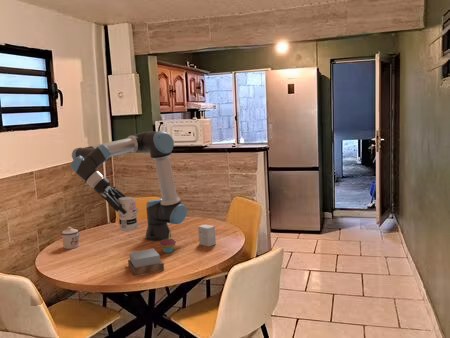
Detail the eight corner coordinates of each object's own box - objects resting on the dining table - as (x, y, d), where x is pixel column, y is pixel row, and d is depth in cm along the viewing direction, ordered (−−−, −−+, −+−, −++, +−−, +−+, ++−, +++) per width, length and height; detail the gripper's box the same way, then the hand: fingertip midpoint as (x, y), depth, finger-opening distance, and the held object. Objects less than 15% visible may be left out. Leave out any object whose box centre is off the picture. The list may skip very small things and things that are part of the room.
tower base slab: (155, 262, 224) (155, 254, 224) (164, 271, 212) (163, 263, 211) (128, 267, 218) (127, 260, 218) (135, 277, 206) (134, 269, 205)
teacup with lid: (72, 249, 249) (70, 229, 247) (59, 248, 252) (57, 228, 250) (86, 243, 260) (84, 223, 258) (73, 242, 263) (71, 223, 261)
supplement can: (121, 227, 214) (118, 196, 212) (138, 225, 214) (136, 195, 212) (118, 231, 206) (115, 200, 204) (136, 230, 206) (133, 199, 204)
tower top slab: (153, 255, 222) (153, 248, 222) (160, 263, 211) (159, 255, 211) (129, 260, 217) (129, 252, 217) (135, 267, 207) (134, 259, 206)
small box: (216, 244, 247) (215, 226, 245) (208, 247, 243) (208, 228, 241) (205, 241, 252) (205, 224, 251) (198, 244, 248) (197, 226, 247)
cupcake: (178, 249, 241) (177, 228, 239) (171, 254, 233) (170, 232, 231) (164, 248, 244) (163, 227, 242) (157, 253, 236) (155, 231, 234)
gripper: (102, 184, 219) (136, 214, 220) (84, 193, 198) (122, 227, 199) (111, 173, 218) (145, 204, 218) (94, 181, 197) (132, 215, 198)
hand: (134, 215), depth 209 cm, fingers closed on supplement can, 8 cm apart
